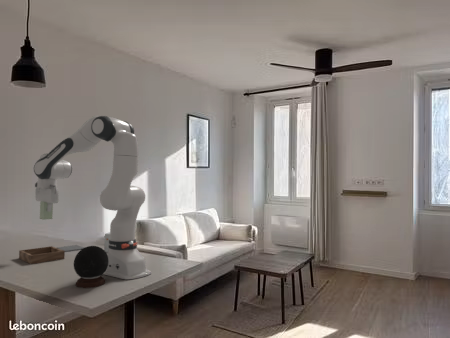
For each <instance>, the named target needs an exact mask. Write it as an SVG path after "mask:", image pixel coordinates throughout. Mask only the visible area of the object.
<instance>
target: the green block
mask: <svg viewBox="0 0 450 338" xmlns="http://www.w3.org/2000/svg"><path fill="white" fill-rule="evenodd" d="M39 202H40V201H39ZM39 204H40V205H39V219H40V220H42V221H43V220H45V221H46V220H53V215H54V214H53V212H54V211H53V210H54V204H53V205H52V208H51V211H50V212H48V211H46V210H47V206H48V205H47V203H46V202H42V201H41V202H40V203H39Z"/></svg>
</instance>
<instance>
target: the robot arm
mask: <svg viewBox="0 0 450 338" xmlns="http://www.w3.org/2000/svg"><path fill="white" fill-rule="evenodd" d="M102 140H103V141H105V142H111V143H112V144H113V158H112V159H113V161H112V171H111V175H110V179H109V180H108V183H107V186H106V187H105V188H104V189H103V190H102V191H101V193H100V195H99V202H100V205H101V206H102V208H104V210H108V211H113V212H114V211H116V213H115V216H114V218H113V219H112V220H111V222H110V228H109V232H110V240H109V251H108V252H106V253H107V255H108V261H109V262H108V267H107V269H106V271H105V272H104V273H103V274H102V275H104V276H105V275H106V276H108V277H113V278H117V279H122V280H133V279H139V278H143V277H146V276H149V275H151V274H152V271H151V270H149V269H148V268H147V265H146V264H147V263H146V257H144V256H143V255H142V253H141V252H140V251H139V250H138V242H137V240H136V223H137V218H138V214H139V212H140V209H141V207H142V205H143V204H144V203H145V201H146V194H145V191H144V189H142V188H141V187H139V186H136V185H131V184H132V182H133V180H134V178H135V176H136V175H138V168H139V167H138V166H139V143H138V138H137V136H136V135H135V129H134V127H133V125H132V124H131V123H129V121H125V120H124V121H123V120H122V119H118V118H116V117H112V116H106V115H94V116H92V117H90V118H89V119H88V120H86V122H84V123H83V124H82V125H81V126H80V127H79V129H78V130H77V131H76V132H74V133H73V134H72V135H69V136H68V137H67V138H65V139H63V140H62V141H60V142H59V143H58V144H57V145H56V146H55V147H54V148H52V149H51V150H50V151H49V152H48V153H44V154H41V155H40V157H39V159H38V160H36V162H35V163H34V166H33V172H34V174H35V176H36V177H37V181H36V182H35V183H34V188H35V191H34V192H35V196H34V197H35V200H36V202H41V201H42V202H46V203H47V205H48V206H47V210H46V211H48V212H50V211H51V208H52V205H53V206H54V204H58V203H59V190H58V188H57V187H58V180H59V179H63V180H64V179H68V178H69V177H70V176H72V173H73V172H72V171H73V167H72V164H71V162H69V161H68V160H64V158H65V157H67V156H68V155H71V154H76V153H83V152H89V151H91V150H93V149H94V148H95V147H97V145H99V143H100V142H102Z"/></svg>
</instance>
